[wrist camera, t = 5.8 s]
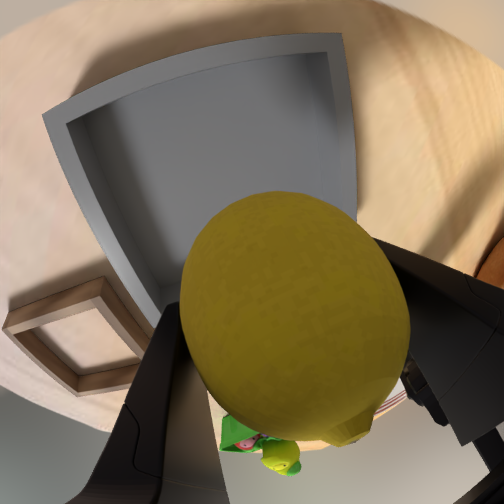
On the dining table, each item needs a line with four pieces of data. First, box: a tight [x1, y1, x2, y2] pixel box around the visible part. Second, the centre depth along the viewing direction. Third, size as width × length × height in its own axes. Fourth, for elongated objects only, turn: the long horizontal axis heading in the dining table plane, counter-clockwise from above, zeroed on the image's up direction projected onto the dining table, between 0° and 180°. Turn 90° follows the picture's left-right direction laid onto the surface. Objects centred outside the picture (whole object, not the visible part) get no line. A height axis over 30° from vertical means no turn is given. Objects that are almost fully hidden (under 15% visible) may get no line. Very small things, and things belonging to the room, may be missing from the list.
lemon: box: [180, 191, 410, 447], centre depth 7 cm, size 6×6×8 cm
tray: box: [42, 33, 357, 328], centre depth 14 cm, size 14×14×3 cm
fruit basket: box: [219, 415, 301, 476], centre depth 31 cm, size 11×9×11 cm
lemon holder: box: [2, 276, 150, 397], centre depth 19 cm, size 11×11×2 cm
